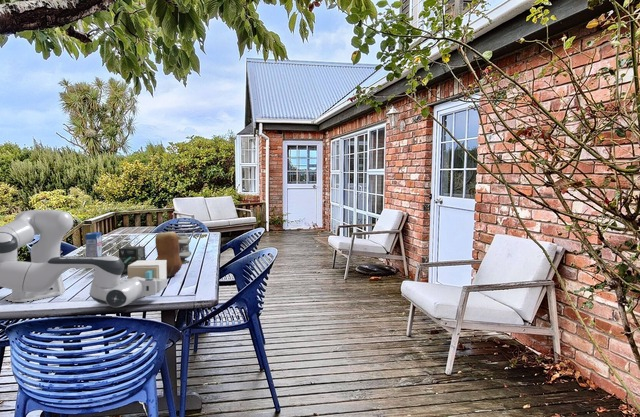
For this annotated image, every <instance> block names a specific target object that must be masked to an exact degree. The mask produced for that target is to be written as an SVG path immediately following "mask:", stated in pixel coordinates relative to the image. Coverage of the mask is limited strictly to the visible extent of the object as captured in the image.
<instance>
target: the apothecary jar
mask: <svg viewBox="0 0 640 417" xmlns="http://www.w3.org/2000/svg"><path fill="white" fill-rule="evenodd" d="M177 236H178V240H179V256H180V259H181V261H182V265H185V264H186V263H187V264H189V263H190V260H187V259H188V258H189V257H191V256H192V252H191V251H190V248H189V247H190V246H189V244H190V243H191V239H190V238H189V235H188V234H177Z"/></svg>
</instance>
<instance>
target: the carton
mask: <svg viewBox="0 0 640 417" xmlns="http://www.w3.org/2000/svg"><path fill="white" fill-rule="evenodd" d="M128 267H157V271H158V279H166V281H167V282H168V277H167V260H157V259H152V260H151V259H150V260H149V259H148V260H146V259H145V260H139V261H136V262H134V263H132V264H130V265H128ZM166 287H168V284H167V285H166ZM163 290H164V289H162V290H161V291H159V292H158V293H160V292H162V291H163Z"/></svg>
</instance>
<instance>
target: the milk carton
mask: <svg viewBox="0 0 640 417" xmlns="http://www.w3.org/2000/svg"><path fill="white" fill-rule="evenodd" d="M84 236H85V239H84V240H85V257H100V256H103V241H102V240H103V239H102V238H103V237H102V232H101V231H100V232H99V231H98V232H97V231H96V232H94V231H91V232H88V233H85V234H84Z"/></svg>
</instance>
